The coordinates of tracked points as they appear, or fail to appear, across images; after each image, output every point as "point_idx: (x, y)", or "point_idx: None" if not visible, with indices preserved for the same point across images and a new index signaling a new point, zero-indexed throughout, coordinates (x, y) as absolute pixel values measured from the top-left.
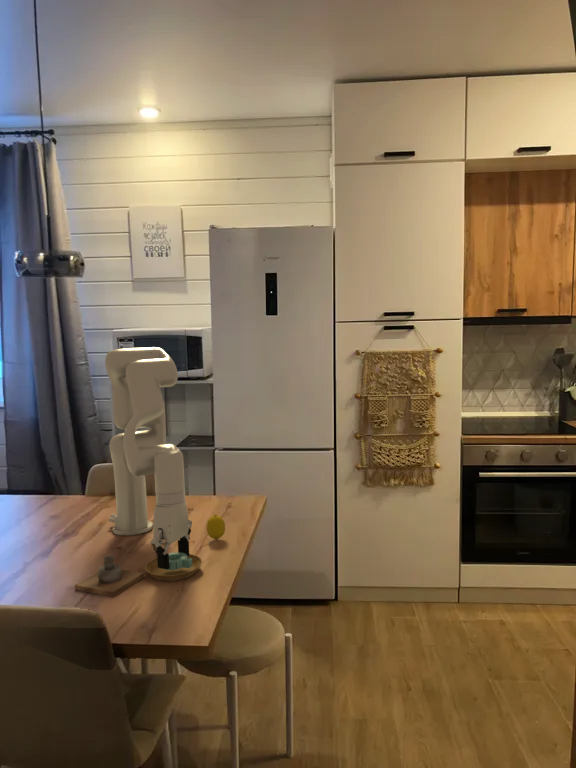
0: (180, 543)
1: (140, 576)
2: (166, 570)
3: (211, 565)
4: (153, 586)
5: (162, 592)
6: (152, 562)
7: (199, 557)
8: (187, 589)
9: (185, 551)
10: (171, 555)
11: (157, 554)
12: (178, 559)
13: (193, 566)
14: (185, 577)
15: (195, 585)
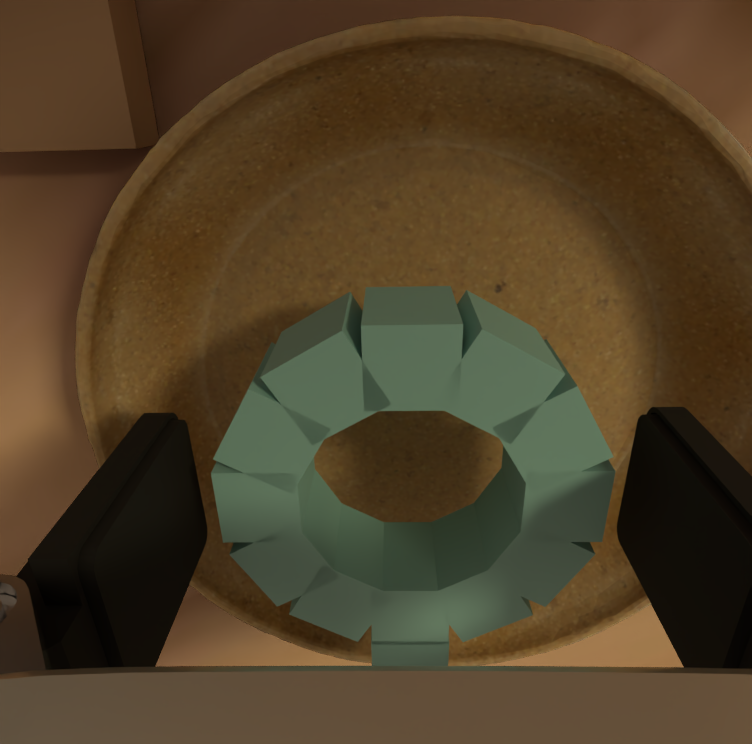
0: (720, 580)
1: (66, 149)
2: (430, 282)
3: None
4: (54, 390)
5: (21, 523)
6: (439, 52)
7: None
8: (174, 644)
9: (641, 555)
10: (485, 428)
11: (49, 541)
12: (364, 597)
13: None
14: None
15: (259, 657)
